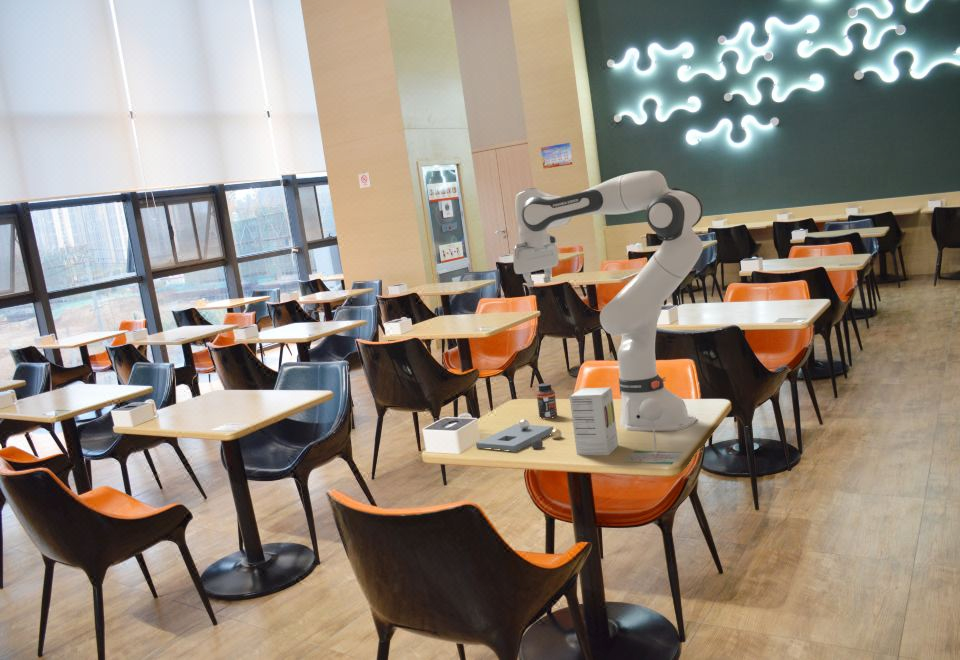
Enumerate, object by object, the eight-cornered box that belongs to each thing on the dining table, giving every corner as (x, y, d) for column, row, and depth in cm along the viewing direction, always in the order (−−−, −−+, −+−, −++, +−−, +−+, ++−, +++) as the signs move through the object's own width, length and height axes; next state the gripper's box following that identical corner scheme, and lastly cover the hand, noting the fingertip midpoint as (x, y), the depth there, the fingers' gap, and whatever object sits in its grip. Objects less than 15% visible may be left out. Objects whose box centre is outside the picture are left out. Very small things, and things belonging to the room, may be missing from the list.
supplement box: (609, 456, 211) (601, 395, 209) (576, 456, 215) (568, 395, 213) (619, 445, 220) (612, 386, 218) (587, 445, 224) (580, 387, 222)
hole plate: (516, 431, 249) (515, 424, 249) (554, 434, 240) (553, 426, 240) (477, 451, 234) (475, 442, 234) (515, 454, 225) (514, 446, 225)
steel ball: (532, 428, 241) (530, 418, 240) (525, 431, 238) (524, 421, 238) (523, 428, 243) (522, 417, 242) (517, 431, 240) (515, 420, 240)
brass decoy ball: (564, 438, 235) (563, 427, 234) (558, 441, 232) (557, 430, 232) (555, 437, 237) (554, 427, 236) (549, 440, 234) (548, 430, 234)
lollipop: (640, 457, 207) (634, 401, 205) (649, 450, 212) (643, 395, 210) (663, 458, 203) (657, 401, 202) (671, 451, 208) (665, 395, 206)
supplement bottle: (552, 420, 257) (548, 386, 256) (536, 420, 260) (532, 386, 259) (560, 415, 262) (556, 382, 261) (544, 415, 265) (540, 382, 264)
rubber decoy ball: (545, 448, 227) (544, 437, 227) (539, 451, 224) (537, 440, 224) (536, 447, 229) (534, 436, 229) (530, 451, 227) (528, 440, 226)
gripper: (522, 243, 241) (528, 288, 243) (559, 237, 257) (564, 279, 258) (505, 245, 245) (512, 290, 247) (543, 239, 261) (548, 280, 262)
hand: (539, 284), depth 253 cm, fingers open, 8 cm apart
